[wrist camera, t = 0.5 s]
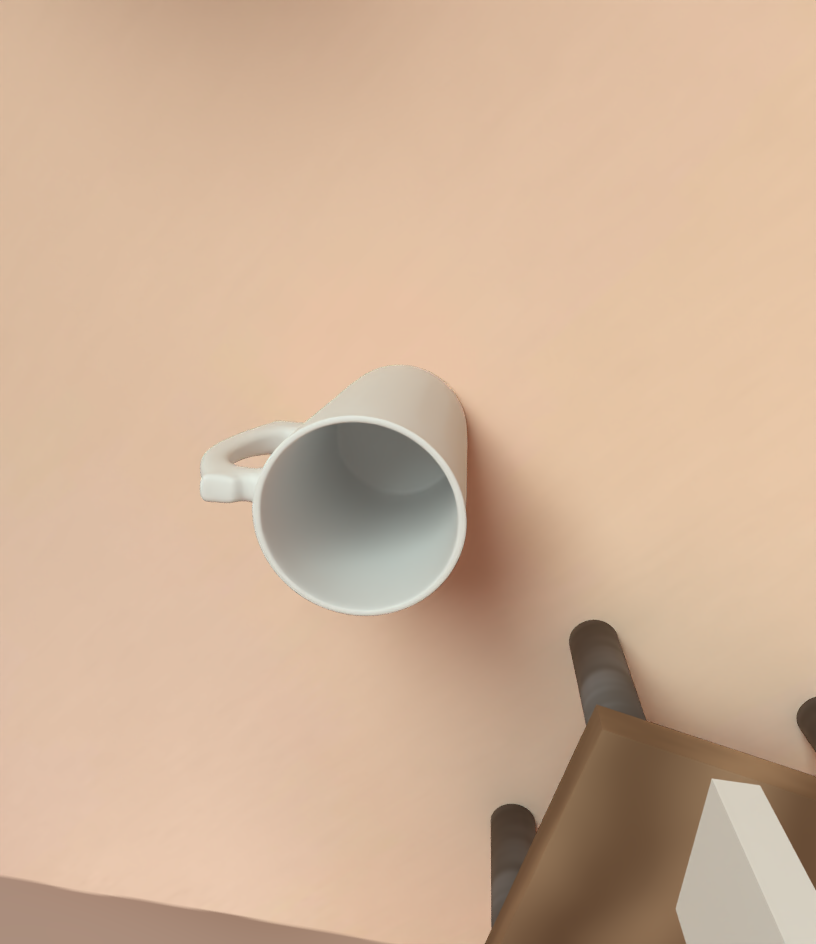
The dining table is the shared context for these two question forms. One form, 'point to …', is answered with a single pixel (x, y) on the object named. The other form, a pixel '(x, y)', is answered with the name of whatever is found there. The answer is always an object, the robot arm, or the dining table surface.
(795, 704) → the dining table surface
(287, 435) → the mug
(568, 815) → the small wooden stand
